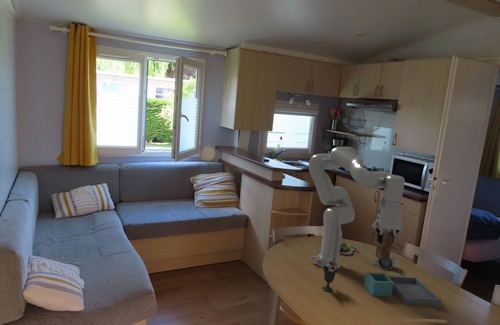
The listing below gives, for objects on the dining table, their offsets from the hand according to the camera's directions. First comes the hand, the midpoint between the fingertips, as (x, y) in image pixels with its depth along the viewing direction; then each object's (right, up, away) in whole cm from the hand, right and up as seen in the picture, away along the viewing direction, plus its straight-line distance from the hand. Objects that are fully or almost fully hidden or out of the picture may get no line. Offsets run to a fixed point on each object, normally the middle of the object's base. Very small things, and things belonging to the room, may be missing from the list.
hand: (384, 242), depth 155 cm
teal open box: (-2, -24, +4) cm, 24 cm away
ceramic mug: (+11, -21, +32) cm, 40 cm away
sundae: (-25, -22, +3) cm, 34 cm away
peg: (-1, -7, +1) cm, 7 cm away
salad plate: (-8, -16, +51) cm, 54 cm away
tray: (+14, -25, +5) cm, 29 cm away
